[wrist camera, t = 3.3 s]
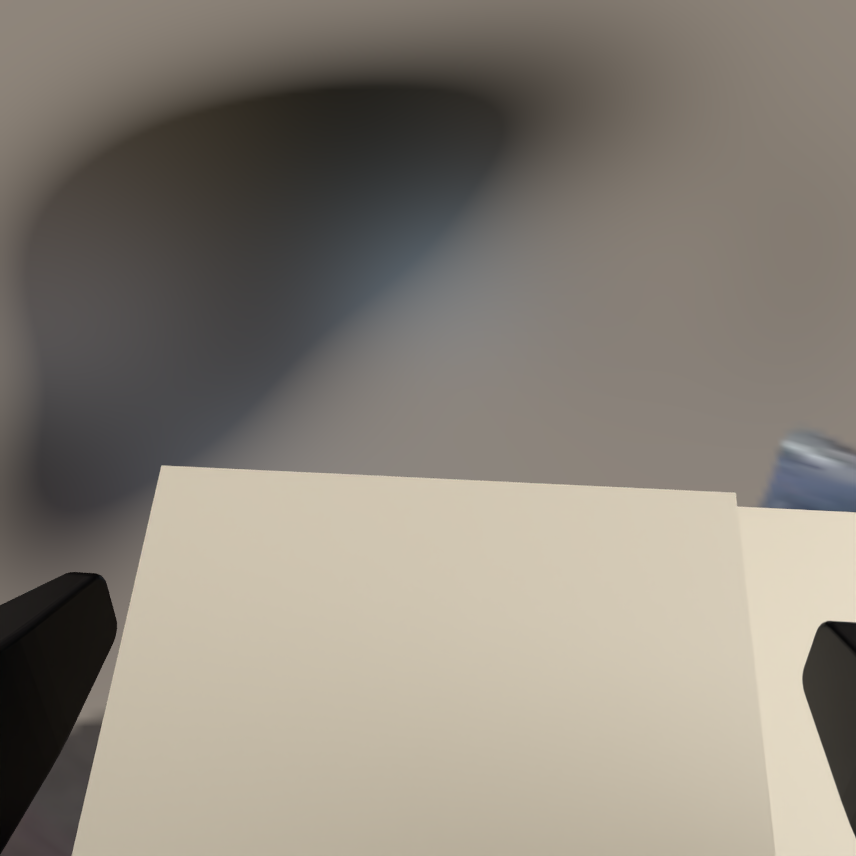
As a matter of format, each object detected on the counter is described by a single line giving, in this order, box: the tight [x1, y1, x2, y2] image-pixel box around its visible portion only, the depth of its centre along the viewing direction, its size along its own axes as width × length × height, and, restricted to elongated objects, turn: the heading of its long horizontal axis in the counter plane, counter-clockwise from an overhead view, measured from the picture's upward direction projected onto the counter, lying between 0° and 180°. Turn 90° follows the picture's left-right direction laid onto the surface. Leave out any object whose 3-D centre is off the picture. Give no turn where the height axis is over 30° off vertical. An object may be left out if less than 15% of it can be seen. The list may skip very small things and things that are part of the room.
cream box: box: [72, 466, 776, 856], centre depth 10 cm, size 5×5×11 cm
